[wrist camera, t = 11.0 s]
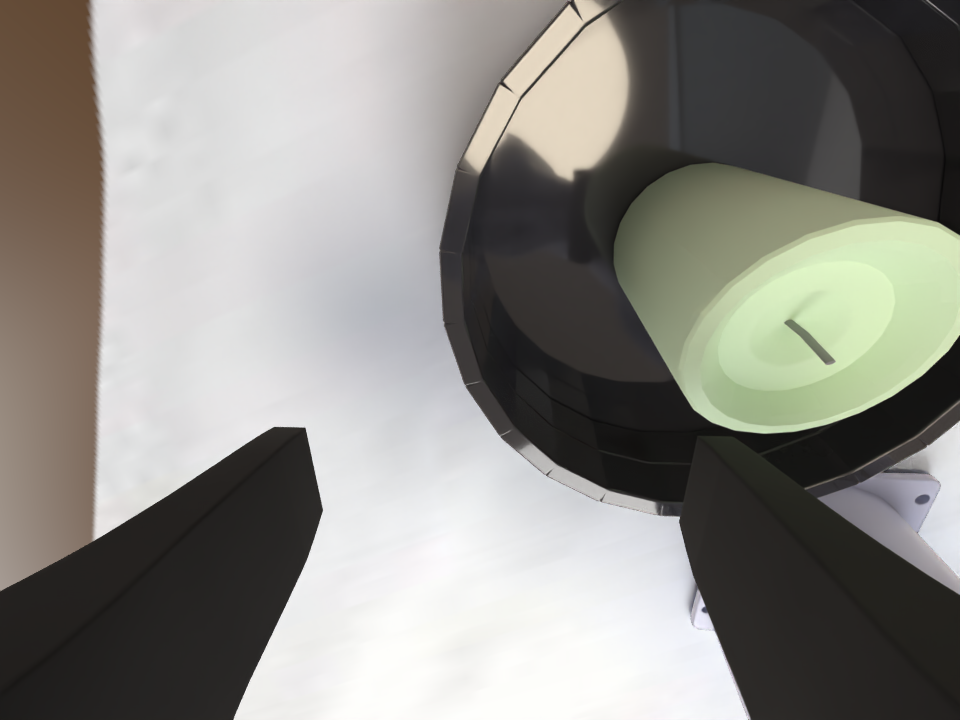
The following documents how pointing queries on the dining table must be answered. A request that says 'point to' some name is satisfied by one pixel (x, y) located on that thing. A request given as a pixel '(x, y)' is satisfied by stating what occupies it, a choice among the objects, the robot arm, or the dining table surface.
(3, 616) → the robot arm
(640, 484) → the pan
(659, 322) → the candle
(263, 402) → the dining table surface
